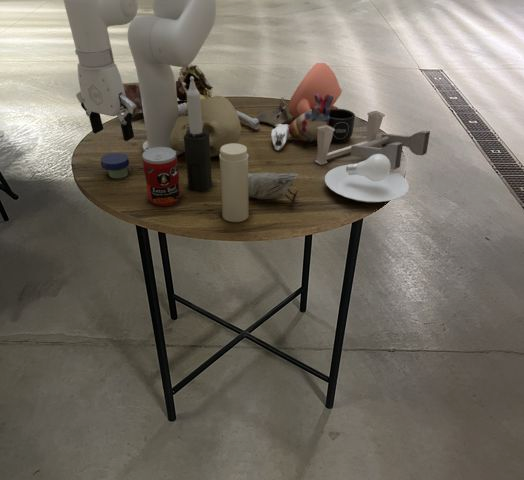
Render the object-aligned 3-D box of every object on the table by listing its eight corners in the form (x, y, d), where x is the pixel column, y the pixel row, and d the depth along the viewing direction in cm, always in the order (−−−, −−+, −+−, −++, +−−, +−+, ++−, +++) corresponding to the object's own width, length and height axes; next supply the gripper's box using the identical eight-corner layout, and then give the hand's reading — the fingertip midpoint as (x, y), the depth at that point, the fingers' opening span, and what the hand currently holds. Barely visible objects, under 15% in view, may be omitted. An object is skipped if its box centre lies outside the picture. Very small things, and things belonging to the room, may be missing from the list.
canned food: (151, 208, 113) (143, 162, 105) (147, 193, 118) (140, 148, 110) (183, 204, 114) (178, 159, 106) (178, 189, 120) (173, 145, 112)
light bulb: (180, 117, 159) (208, 109, 159) (181, 125, 154) (211, 116, 154) (173, 97, 154) (203, 88, 154) (175, 104, 150) (205, 95, 150)
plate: (346, 215, 111) (348, 206, 110) (310, 177, 125) (311, 169, 124) (423, 203, 117) (425, 194, 115) (380, 168, 131) (382, 160, 129)
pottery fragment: (259, 127, 164) (252, 112, 162) (289, 110, 162) (282, 94, 159) (261, 139, 150) (253, 123, 147) (294, 121, 148) (286, 104, 145)
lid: (96, 165, 123) (94, 158, 121) (118, 156, 126) (116, 150, 125) (113, 173, 120) (111, 166, 118) (135, 164, 123) (133, 157, 122)
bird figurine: (267, 124, 134) (274, 124, 143) (268, 151, 137) (275, 148, 146) (285, 124, 133) (290, 123, 142) (285, 150, 136) (291, 148, 145)
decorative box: (169, 125, 165) (182, 128, 158) (112, 122, 154) (123, 124, 147) (169, 82, 159) (182, 82, 152) (110, 75, 148) (121, 75, 141)
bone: (228, 111, 158) (218, 115, 157) (227, 95, 154) (217, 99, 153) (261, 135, 150) (252, 139, 149) (261, 119, 146) (251, 123, 144)
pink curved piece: (271, 125, 149) (305, 153, 151) (297, 81, 135) (334, 113, 137) (303, 89, 162) (334, 116, 164) (330, 46, 148) (363, 75, 150)
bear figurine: (196, 54, 161) (171, 70, 168) (176, 72, 152) (151, 88, 159) (218, 94, 168) (193, 107, 175) (200, 113, 160) (175, 126, 167)
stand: (111, 170, 127) (107, 155, 124) (129, 170, 127) (126, 155, 124) (107, 178, 123) (104, 163, 120) (126, 178, 123) (123, 163, 121)
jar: (222, 208, 113) (219, 142, 102) (248, 208, 113) (248, 142, 103) (221, 222, 109) (218, 154, 98) (249, 222, 109) (248, 154, 98)
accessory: (305, 130, 147) (305, 134, 148) (285, 137, 143) (285, 141, 143) (327, 137, 143) (327, 141, 143) (307, 145, 138) (307, 148, 139)
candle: (213, 183, 122) (207, 74, 105) (206, 192, 119) (198, 81, 101) (194, 180, 123) (185, 72, 106) (187, 189, 120) (176, 78, 102)
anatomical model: (311, 131, 147) (330, 83, 135) (323, 150, 143) (344, 101, 131) (283, 130, 143) (301, 80, 131) (295, 149, 139) (314, 99, 127)
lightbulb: (341, 160, 117) (386, 157, 112) (349, 152, 121) (392, 149, 116) (343, 186, 121) (387, 184, 116) (351, 177, 125) (393, 175, 120)
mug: (354, 144, 141) (358, 119, 136) (324, 144, 141) (327, 119, 136) (346, 129, 150) (349, 104, 145) (317, 129, 149) (319, 105, 144)
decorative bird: (235, 190, 120) (234, 161, 114) (298, 198, 117) (300, 169, 112) (229, 201, 116) (228, 171, 111) (294, 209, 114) (297, 179, 108)
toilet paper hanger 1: (311, 161, 133) (320, 166, 131) (315, 127, 126) (325, 132, 124) (369, 142, 143) (378, 147, 141) (376, 110, 136) (385, 114, 134)
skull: (168, 121, 120) (247, 118, 123) (162, 87, 129) (236, 85, 133) (172, 169, 131) (245, 165, 134) (167, 135, 140) (234, 132, 144)
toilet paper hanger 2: (350, 139, 126) (348, 162, 130) (397, 145, 120) (394, 169, 123) (386, 126, 141) (383, 148, 144) (430, 131, 134) (426, 153, 137)
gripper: (54, 56, 107) (76, 134, 119) (115, 68, 101) (131, 148, 114) (77, 47, 111) (96, 123, 124) (137, 58, 106) (151, 136, 118)
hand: (113, 135), depth 119 cm, fingers open, 9 cm apart
